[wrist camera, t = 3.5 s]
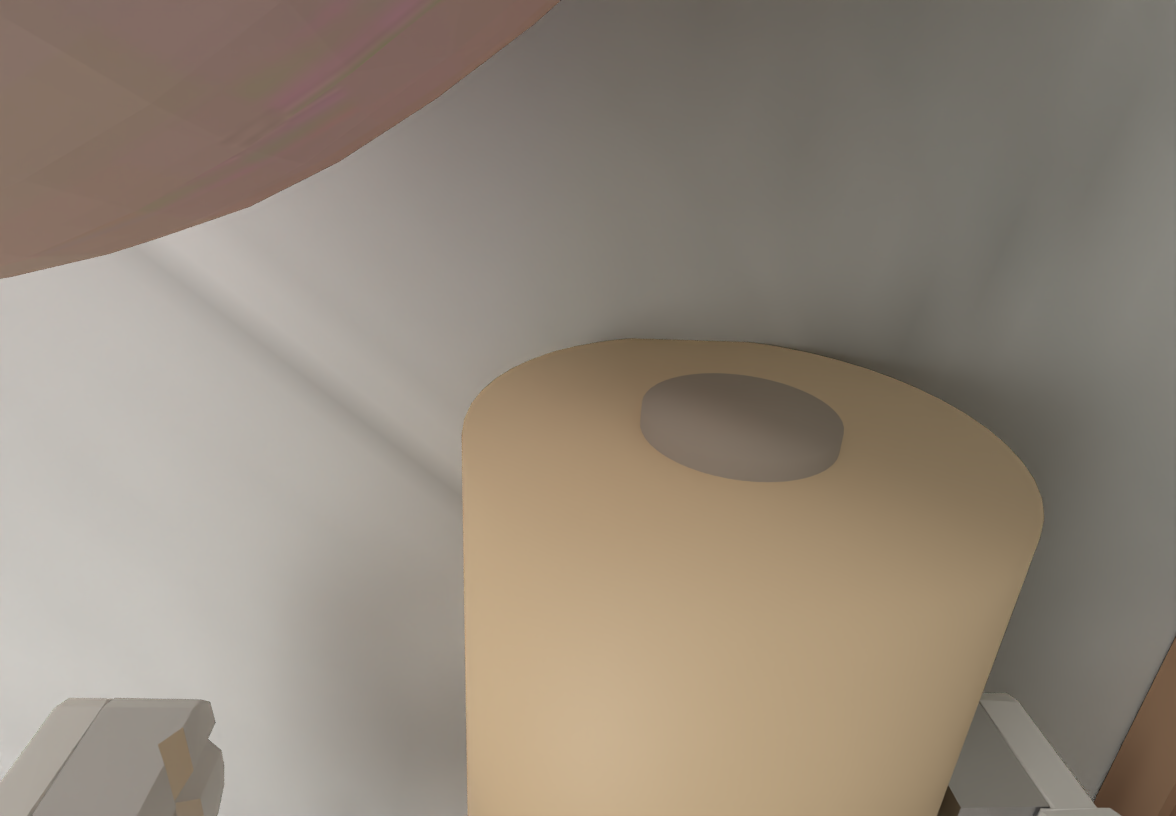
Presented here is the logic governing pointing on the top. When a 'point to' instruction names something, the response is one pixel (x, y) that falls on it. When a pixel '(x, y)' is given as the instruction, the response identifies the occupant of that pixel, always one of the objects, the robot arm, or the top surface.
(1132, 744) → the holder
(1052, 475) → the top surface
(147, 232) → the decorative fruit
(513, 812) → the roll
